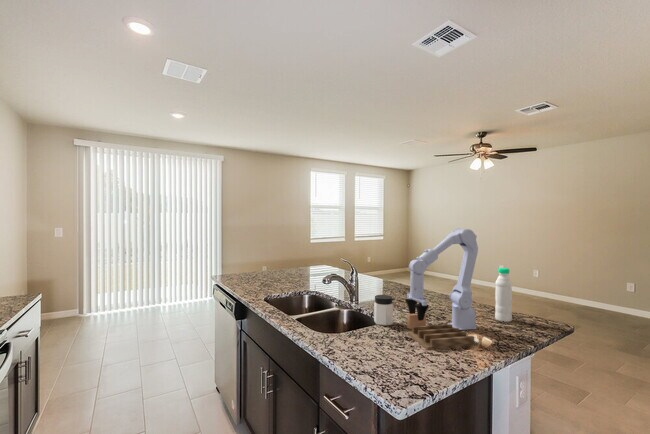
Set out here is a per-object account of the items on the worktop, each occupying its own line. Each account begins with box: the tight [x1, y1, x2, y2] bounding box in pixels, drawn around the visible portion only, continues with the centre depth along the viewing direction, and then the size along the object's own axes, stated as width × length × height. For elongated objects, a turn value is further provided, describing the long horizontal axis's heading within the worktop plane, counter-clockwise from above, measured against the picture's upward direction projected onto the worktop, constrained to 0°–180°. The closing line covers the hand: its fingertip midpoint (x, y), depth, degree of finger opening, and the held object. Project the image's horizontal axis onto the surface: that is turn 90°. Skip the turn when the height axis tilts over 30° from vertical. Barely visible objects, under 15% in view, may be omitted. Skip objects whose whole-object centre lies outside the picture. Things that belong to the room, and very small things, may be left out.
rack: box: [407, 323, 480, 350], centre depth 126 cm, size 22×15×3 cm
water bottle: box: [494, 267, 513, 323], centre depth 152 cm, size 7×7×25 cm
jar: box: [373, 294, 394, 326], centre depth 146 cm, size 9×8×12 cm
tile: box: [406, 312, 427, 330], centre depth 140 cm, size 8×2×6 cm, turn 102°
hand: (416, 317), depth 140 cm, fingers open, 7 cm apart
